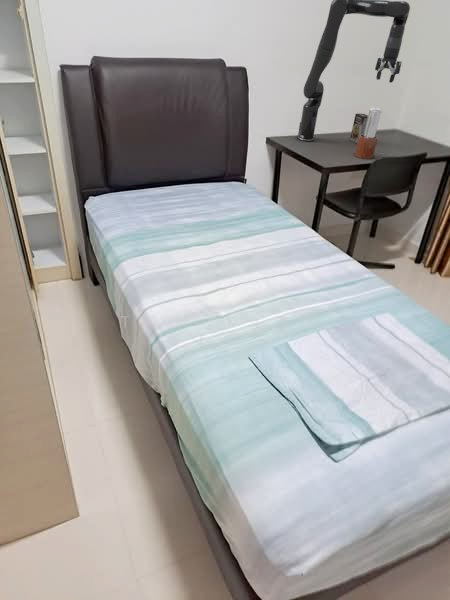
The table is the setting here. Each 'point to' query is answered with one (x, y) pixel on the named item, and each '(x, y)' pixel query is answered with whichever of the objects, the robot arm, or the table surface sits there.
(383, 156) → the table surface
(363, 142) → the cup
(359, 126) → the coffee box
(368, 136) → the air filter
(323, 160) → the table surface
